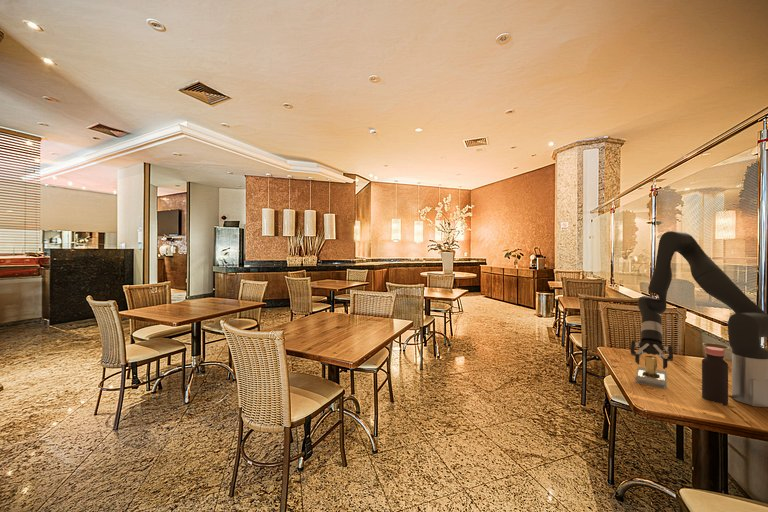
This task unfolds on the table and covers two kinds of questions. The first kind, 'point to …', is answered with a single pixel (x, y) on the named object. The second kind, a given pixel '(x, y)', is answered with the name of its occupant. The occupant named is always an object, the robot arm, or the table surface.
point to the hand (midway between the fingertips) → (650, 365)
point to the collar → (651, 379)
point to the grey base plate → (652, 384)
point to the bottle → (715, 376)
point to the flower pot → (717, 347)
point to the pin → (651, 366)
